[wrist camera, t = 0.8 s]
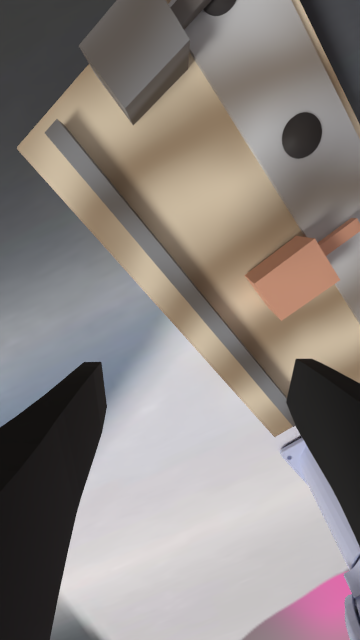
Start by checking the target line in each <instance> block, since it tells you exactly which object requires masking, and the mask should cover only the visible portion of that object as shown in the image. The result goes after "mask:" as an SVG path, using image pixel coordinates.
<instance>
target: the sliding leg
mask: <svg viewBox="0 0 360 640" xmlns="http://www.w3.org/2000/svg"><path fill="white" fill-rule="evenodd" d="M358 232H360V223H359V221H358V219H357V218H350V219H349V220H348V221H346V222H345V223H344V224H342V225H341V226H340V227H338V228H337V229H336V230H334V231H333V232H332V233H330V234H329V235H327V236H326V237H325V238H323V239H322V240H321V241H319V242H318V243H317V241H316V239H315V238H308V237H301V236H295V237H294V238H293V239H291V240H290V241H289V242H287V243H286V244H285V245H284V246H282V247H281V248H280V249H278V250H277V251H276V252H274V253H273V254H272V255H270V256H269V257H268V258H267V259H265V260H264V261H263V262H261V263H260V264H259V265H257V266H256V267H255V268H253V269H252V270H251V271H250V272H248V273H247V274H246V275H244V276H245V277H246V278H247V280H248V281H249V282H250V284H251V285H252V286H253V288H254V289H255V290H256V292H257V293H258V294H259V296H260V297H261V299H262V300H263V301H264V303H265V304H266V305H267V307H268V308H269V309H270V310H271V311H272V312H273V313H274V314H275V315H276V316H277V317H278V318H279V319H280V320H281V321H282V320H283V319H285V318H286V317H288V316H289V315H291V314H292V313H294V312H295V311H296V310H298V309H299V308H301V307H302V306H304V305H305V304H307V303H308V302H309V301H311V300H312V299H314V298H315V297H317V296H318V295H320V294H321V293H322V292H324V291H325V290H327V289H328V288H330V287H331V286H333V285H334V284H335V283H337V282H338V281H340V279H339V277H338V275H337V274H336V272H335V270H334V269H333V267H332V266H331V264H330V262H329V261H328V259H327V257H326V256H327V255H328V254H329V253H331V252H332V251H334V250H335V249H336V248H338V247H339V246H340V245H342V244H343V243H345V242H346V241H347V240H349V239H350V238H352V237H353V236H354V235H356V234H357V233H358Z"/></svg>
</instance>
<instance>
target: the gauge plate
mask: <svg viewBox="0 0 360 640" xmlns="http://www.w3.org/2000/svg"><path fill="white" fill-rule="evenodd" d="M79 47H80V49H81V50H82V52H83V54H84V56H85V57H86V59H87V61H88V63H89V65H88V66H87V67H86V68H85V69H84V70H83V72H82V73H81V74H80V75H79V76H78V77H77V79H76V80H75V81H74V82H73V83H72V84H71V85H70V87H69V88H68V89H67V90H66V91H65V92H64V94H63V95H62V96H61V97H60V98H59V99H58V101H57V102H56V103H55V104H54V105H53V106H52V107H51V109H50V110H49V111H48V112H47V113H46V114H45V116H44V117H43V118H42V119H41V120H40V121H39V123H38V124H37V125H36V126H35V127H34V128H33V129H32V131H31V132H30V133H29V134H28V135H27V136H26V138H25V139H24V140H23V141H22V142H21V143H20V145H19V146H18V147H17V149H18V150H19V151H20V153H21V154H22V155H23V156H24V157H25V158H26V159H27V160H28V162H29V163H30V164H31V165H32V166H33V167H34V168H35V169H36V171H37V172H38V173H39V174H40V175H41V176H42V177H43V178H44V179H45V181H46V182H47V183H48V184H49V185H50V186H51V187H52V188H53V190H54V191H55V192H56V193H57V194H58V195H59V196H60V197H61V199H62V200H63V201H64V202H65V203H66V204H67V205H68V206H69V207H70V209H71V210H72V211H73V212H74V213H75V214H76V215H77V216H78V218H79V219H80V220H81V221H82V222H83V223H84V224H85V225H86V226H87V228H88V229H89V230H90V231H91V232H92V233H93V234H94V235H95V237H96V238H97V239H98V240H99V241H100V242H101V243H102V244H103V246H104V247H105V248H106V249H107V250H108V251H109V252H110V253H111V254H112V256H113V257H114V258H115V259H116V260H117V261H118V262H119V263H120V265H121V266H122V267H123V268H124V269H125V270H126V271H127V272H128V274H129V275H130V276H131V277H132V278H133V279H134V280H135V281H136V282H137V284H138V285H139V286H140V287H141V288H142V289H143V290H144V291H145V293H146V294H147V295H148V296H149V297H150V298H151V299H152V300H153V302H154V303H155V304H156V305H157V306H158V307H159V308H160V309H161V310H162V312H163V313H164V314H165V315H166V316H167V317H168V318H169V319H170V321H171V322H172V323H173V324H174V325H175V326H176V327H177V328H178V329H179V331H180V332H181V333H182V334H183V335H184V336H185V337H186V338H187V340H188V341H189V342H190V343H191V344H192V345H193V346H194V347H195V349H196V350H197V351H198V352H199V353H200V354H201V355H202V356H203V357H204V359H205V360H206V361H207V362H208V363H209V364H210V365H211V366H212V368H213V369H214V370H215V371H216V372H217V373H218V374H219V375H220V377H221V378H222V379H223V380H224V381H225V382H226V383H227V384H228V385H229V387H230V388H231V389H232V390H233V391H234V392H235V393H236V394H237V396H238V397H239V398H240V399H241V400H242V401H243V402H244V403H245V404H246V406H247V407H248V408H249V409H250V410H251V411H252V412H253V413H254V415H255V416H256V417H257V418H258V419H259V420H260V421H261V422H262V424H263V425H264V426H265V427H266V428H267V429H268V430H269V431H270V432H271V434H272V435H273V436H274V437H276V436H277V435H279V434H281V433H283V432H284V431H286V430H288V429H289V428H291V427H294V426H296V425H295V423H294V421H293V418H292V416H291V413H290V411H289V408H288V406H287V403H286V401H287V396H288V391H289V387H290V382H291V378H292V373H293V369H294V364H295V360H296V359H314V360H316V361H318V362H320V363H322V364H324V365H326V366H328V367H330V368H332V369H334V370H336V371H338V372H340V373H342V374H343V375H345V376H347V377H349V378H351V379H353V380H354V381H356V382H358V383H360V232H358V233H357V234H356V235H354V236H353V237H352V238H350V239H349V240H347V241H346V242H345V243H343V244H342V245H340V246H339V247H338V248H336V249H335V250H334V251H332V252H331V253H329V254H328V255H327V256H326V257H327V259H328V261H329V262H330V264H331V266H332V267H333V269H334V270H335V272H336V274H337V275H338V277H339V279H340V281H338V282H337V283H335V284H334V285H333V286H331V287H330V288H328V289H327V290H325V291H324V292H322V293H321V294H320V295H318V296H317V297H315V298H314V299H312V300H311V301H309V302H308V303H307V304H305V305H304V306H302V307H301V308H299V309H298V310H296V311H295V312H294V313H292V314H291V315H289V316H288V317H286V318H285V319H283V320H282V321H281V320H280V319H279V318H278V317H277V316H276V315H275V314H274V313H273V312H272V311H271V310H270V309H269V308H268V307H267V305H266V304H265V303H264V301H263V300H262V299H261V297H260V296H259V294H258V293H257V292H256V290H255V289H254V288H253V286H252V285H251V284H250V282H249V281H248V280H247V278H246V277H245V276H244V275H246V274H247V273H248V272H250V271H251V270H252V269H253V268H255V267H256V266H257V265H259V264H260V263H261V262H263V261H264V260H265V259H267V258H268V257H269V256H270V255H272V254H273V253H274V252H276V251H277V250H278V249H280V248H281V247H282V246H284V245H285V244H286V243H287V242H289V241H290V240H291V239H293V238H294V237H295V236H301V237H308V238H315V239H316V241H317V243H318V242H319V241H321V240H322V239H323V238H325V237H326V236H327V235H329V234H330V233H332V232H333V231H334V230H336V229H337V228H338V227H340V226H341V225H342V224H344V223H345V222H346V221H348V220H349V219H350V218H357V219H358V221H359V223H360V124H359V122H358V120H357V118H356V116H355V114H354V112H353V110H352V108H351V106H350V104H349V101H348V99H347V97H346V95H345V93H344V91H343V89H342V87H341V85H340V83H339V81H338V79H337V77H336V75H335V73H334V71H333V68H332V66H331V64H330V62H329V60H328V58H327V56H326V54H325V52H324V50H323V48H322V46H321V44H320V42H319V40H318V38H317V35H316V33H315V31H314V29H313V27H312V25H311V23H310V21H309V19H308V17H307V15H306V13H305V11H304V9H303V7H302V5H301V2H300V0H117V1H116V2H115V3H114V4H113V5H112V7H111V8H110V9H109V10H108V11H107V13H106V14H105V15H104V16H103V17H102V19H101V20H100V21H99V22H98V23H97V24H96V26H95V27H94V28H93V29H92V30H91V32H90V33H89V34H88V35H87V36H86V38H85V39H84V40H83V41H82V42H81V44H80V45H79Z"/></svg>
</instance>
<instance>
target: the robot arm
mask: <svg viewBox="0 0 360 640" xmlns="http://www.w3.org/2000/svg"><path fill="white" fill-rule="evenodd" d="M286 403H287V406H288V408H289V411H290V413H291V416H292V418H293V421H294V423H295V425H296V427H297V429H298V431H299V433H300V435H301V436H302V438H300V439H299V440H297V441H295V442H293V443H292V444H290V445H288V446H286V447H284V448H283V449H281V451H280V454H281V456H282V457H283V458H284V459H285V461H286V462H287V463H288V464H289V465H290V466H291V467H292V468H293V469H294V470H295V472H296V473H297V474H298V475H299V476H300V477H301V478H302V479H303V480H304V481H305V483H306V484H307V485H308V486H309V488H310V490H311V492H312V494H313V496H314V498H315V500H316V502H317V504H318V506H319V508H320V510H321V513H322V515H323V517H324V519H325V521H326V523H327V525H328V527H329V529H330V531H331V533H332V535H333V537H334V539H335V541H336V543H337V545H338V547H339V550H340V552H341V554H342V556H343V558H344V560H345V562H346V564H347V566H348V568H349V570H350V571H348V572H347V573H345V574H344V577H345V579H346V581H347V584H348V586H349V588H350V590H351V592H352V594H351V595H348V596H347V597H346V598H345V622H346V627H347V631H348V635H349V638H350V640H360V383H358V382H356V381H354V380H353V379H351V378H349V377H347V376H345V375H343V374H342V373H340V372H338V371H336V370H334V369H332V368H330V367H328V366H326V365H324V364H322V363H320V362H318V361H316V360H314V359H296V360H295V364H294V369H293V373H292V378H291V382H290V387H289V391H288V396H287V401H286ZM106 408H107V405H106V397H105V388H104V380H103V372H102V364H101V362H84V363H83V364H81V365H80V366H79V367H78V368H76V369H75V370H74V371H73V372H72V373H70V374H69V375H68V376H67V377H66V378H65V379H63V380H62V381H61V382H60V383H59V384H57V385H56V386H55V387H54V388H52V389H51V390H50V391H49V392H48V393H46V394H45V395H44V396H43V397H41V398H40V399H39V400H37V401H36V402H35V403H33V404H32V405H31V406H29V407H28V408H27V409H25V410H24V411H23V412H21V413H20V414H19V415H17V416H16V417H15V418H13V419H12V420H10V421H9V422H7V423H6V424H5V425H3V426H2V427H0V640H50V635H51V630H52V625H53V620H54V615H55V610H56V605H57V600H58V595H59V590H60V585H61V581H62V576H63V571H64V567H65V562H66V557H67V553H68V548H69V544H70V539H71V535H72V531H73V526H74V522H75V517H76V513H77V510H78V506H79V503H80V499H81V496H82V493H83V490H84V486H85V483H86V480H87V477H88V474H89V471H90V468H91V465H92V462H93V459H94V456H95V453H96V449H97V446H98V443H99V440H100V437H101V434H102V429H103V424H104V419H105V413H106Z"/></svg>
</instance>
